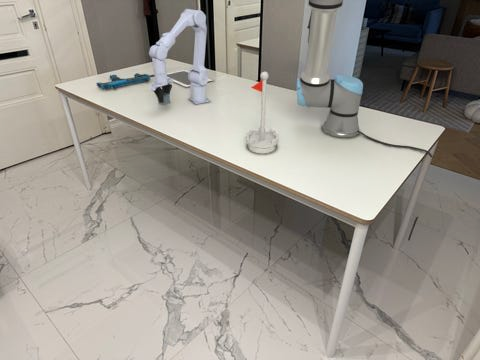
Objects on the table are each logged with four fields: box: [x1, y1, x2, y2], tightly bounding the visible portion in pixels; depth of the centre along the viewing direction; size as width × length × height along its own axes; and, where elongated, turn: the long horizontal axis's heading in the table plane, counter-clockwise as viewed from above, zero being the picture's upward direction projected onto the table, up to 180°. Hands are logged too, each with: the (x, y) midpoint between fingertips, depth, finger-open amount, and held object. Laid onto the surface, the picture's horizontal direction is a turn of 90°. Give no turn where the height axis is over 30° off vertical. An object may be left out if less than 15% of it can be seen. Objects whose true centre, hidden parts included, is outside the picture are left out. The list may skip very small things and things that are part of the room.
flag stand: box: [245, 71, 280, 154], centre depth 128 cm, size 13×13×30 cm
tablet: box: [167, 69, 214, 88], centre depth 216 cm, size 32×20×1 cm, turn 41°
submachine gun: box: [95, 72, 155, 91], centre depth 209 cm, size 34×4×25 cm
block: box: [157, 93, 171, 106], centre depth 165 cm, size 4×4×5 cm
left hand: (164, 100), depth 165 cm, fingers closed on block, 4 cm apart
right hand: (314, 40), depth 169 cm, fingers open, 13 cm apart
